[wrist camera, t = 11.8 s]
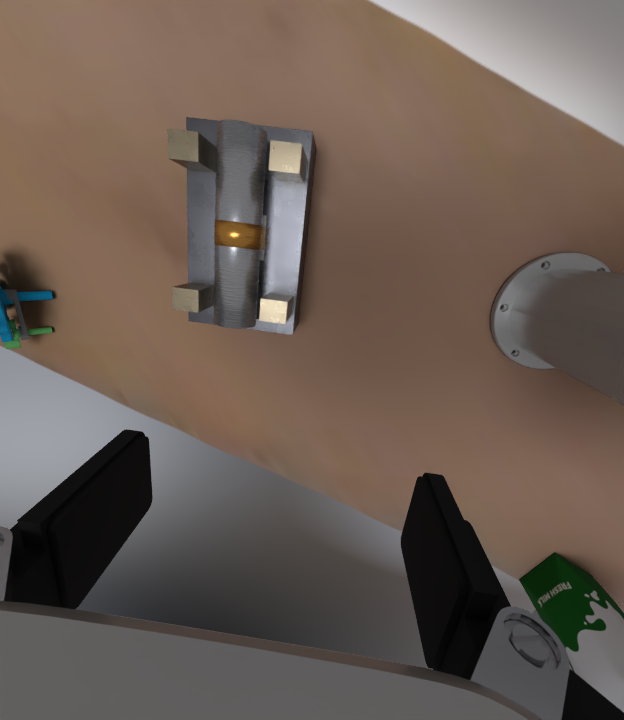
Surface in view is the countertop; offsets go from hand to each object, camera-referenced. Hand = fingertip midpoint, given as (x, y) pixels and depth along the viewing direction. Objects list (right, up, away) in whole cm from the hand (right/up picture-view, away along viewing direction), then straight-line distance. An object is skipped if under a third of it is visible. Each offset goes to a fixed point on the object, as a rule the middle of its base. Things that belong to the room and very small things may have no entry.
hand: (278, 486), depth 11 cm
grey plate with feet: (-5, +18, +24) cm, 30 cm away
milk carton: (+37, -28, +37) cm, 59 cm away
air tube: (-5, +15, +18) cm, 24 cm away
